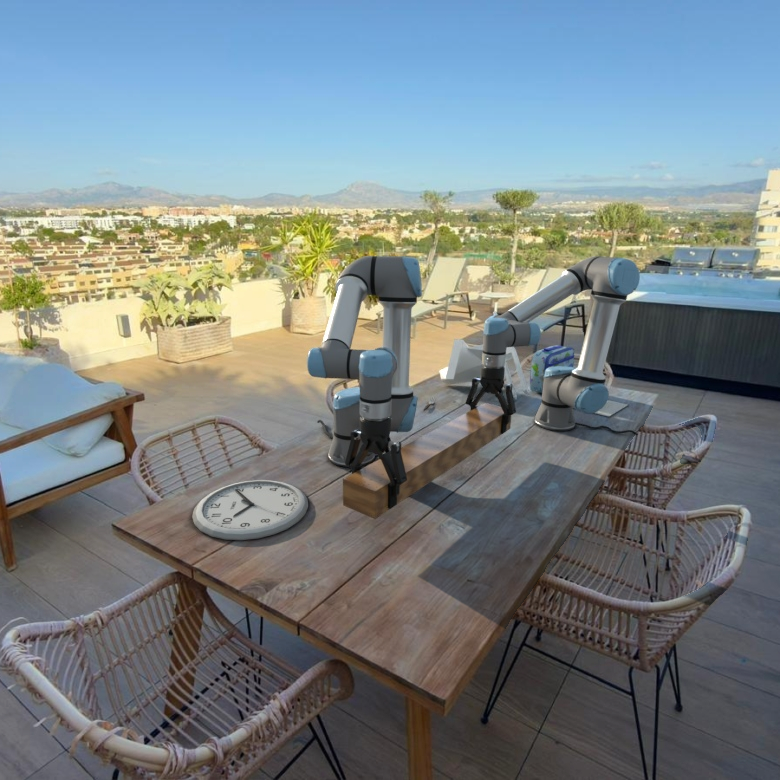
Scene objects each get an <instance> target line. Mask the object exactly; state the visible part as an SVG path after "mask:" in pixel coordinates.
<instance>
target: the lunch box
mask: <svg viewBox="0 0 780 780" xmlns="http://www.w3.org/2000/svg"><path fill="white" fill-rule="evenodd" d="M574 363H575V348H573V347H571V346H570V347H568V346H563V345H551V346H548V347H544V348H543V349H539V350H536V351H535V352H534V354H533V356H532V358H531V363H530V374H529V391H532V392H536V393H540V394H542V391H543V381H544V374H545V370H546V369H547V368H549V367H556V366H565V367H574Z"/></svg>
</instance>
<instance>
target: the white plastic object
mask: <svg viewBox="0 0 780 780" xmlns="http://www.w3.org/2000/svg"><path fill="white" fill-rule="evenodd" d="M493 315H499V314H498V312H497V311H496V310H495V311H492V316H493ZM482 353H483V344H479V345H473V346H469V345H468V343H466V342H465V340H464V339H463V338H460V339H458V338H454V340H453V344H452V349H451V353H450V357H449V362H448V366H446V367H444V368H442V369H440V370H439V371H438V372H439V376H440V381H442V383H443V384H444V385H445V386H449V385H458V384H467V383H468V384H469V383H472V379H474V378H476V377H478V379H481V367H482V366H483V364H482ZM510 360H513V363H514V366H515V369H516V372H517V376H518V380H519V382H520V385H521V389H522V391H523V393H524V395H525V396H526V397H528V396H531V395H530V389H529V388H528V387H529V386H528V384H527V381H526V378H525V375H524V371H523V369H522V368H523V367H522V366H521V362H520V359H519V355H518V352H517V349H516V347H507V348H506V358H505V365H504V368H505V371H504V378H505V380H506V384H512V385H513V388H512V393H513V398H514V400H517V392H516V391H517V390H516V388H515V385H514V381H513V378H512V375H511V371H510V369H509V365H508V361H510Z"/></svg>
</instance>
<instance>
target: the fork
mask: <svg viewBox="0 0 780 780" xmlns="http://www.w3.org/2000/svg"><path fill="white" fill-rule="evenodd" d="M436 400H437V397H436V396H432V395H431V396H430V399H429V401H428V404H426V405H425V407H424V409H423V411H422V412H424V411H426V410H428V408H429V407H430V406H431V405H433V404H435V403H436Z"/></svg>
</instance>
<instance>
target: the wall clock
mask: <svg viewBox="0 0 780 780" xmlns="http://www.w3.org/2000/svg"><path fill="white" fill-rule="evenodd" d="M308 509H309V502H308V498H307V496H306V494H305V493H304V492H303V491H302V490H300V489H299V488H297V487H296V486H294V485H292V484H289V483H286V482H284V481H283V482H282V481H276V480H268V479H267V480H266V479H257V480H245V481H240V482H236V483H231V484H229V485H226V486H223V487H220V488H218V489H216V490H214V491H212V492H210V493H209V494H207V495H205V497H203V498H202V499H201V500H200V501H198V503H197V504H196V506H195V507H194V508H193V512H192V516H191V517H192V521H193V524H194V526H195V527H196V528H197V530H199V531H200V532H201V533H203V534H206V535H207V536H210V537H212V538H216V539H222V540H226V541H227V540H229V541H245V540H246V541H247V540H256V539H261V538H265V537H266V538H267V537H271V536H274V535H276V534H278V533H281V532H283V531H286V530H288V529H289V528H291V527H293V526H295V525H296V524H297V523H299V522H300V521H301V520H302V518H304V516H305V515H306V513H307V511H308Z"/></svg>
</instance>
